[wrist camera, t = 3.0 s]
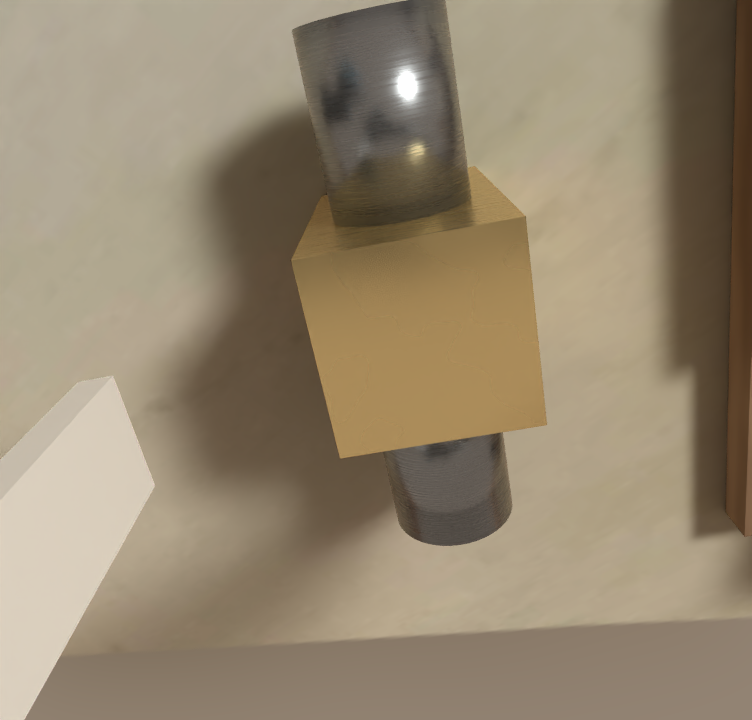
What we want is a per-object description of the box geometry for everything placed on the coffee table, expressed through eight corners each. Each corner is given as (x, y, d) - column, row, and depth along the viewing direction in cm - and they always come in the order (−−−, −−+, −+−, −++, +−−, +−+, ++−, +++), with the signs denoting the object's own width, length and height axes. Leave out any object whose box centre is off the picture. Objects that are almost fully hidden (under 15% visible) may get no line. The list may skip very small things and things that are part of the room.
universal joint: (376, 445, 25) (374, 600, 18) (288, 45, 20) (232, 29, 12) (508, 424, 25) (562, 572, 17) (454, 9, 19) (500, -30, 12)
